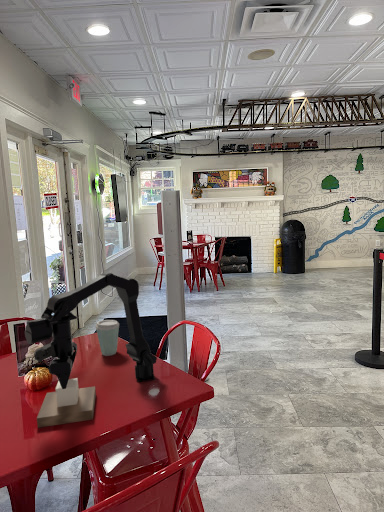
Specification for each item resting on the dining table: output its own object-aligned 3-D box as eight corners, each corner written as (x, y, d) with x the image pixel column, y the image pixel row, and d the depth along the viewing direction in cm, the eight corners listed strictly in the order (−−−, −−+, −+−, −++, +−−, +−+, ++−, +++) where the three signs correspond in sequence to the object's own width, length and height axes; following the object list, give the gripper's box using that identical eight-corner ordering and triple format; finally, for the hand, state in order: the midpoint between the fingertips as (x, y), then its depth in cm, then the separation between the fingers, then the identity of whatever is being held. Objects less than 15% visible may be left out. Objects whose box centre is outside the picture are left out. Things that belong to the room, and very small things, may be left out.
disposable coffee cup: (113, 347, 171) (111, 316, 169) (125, 352, 163) (123, 321, 161) (93, 353, 164) (90, 322, 162) (105, 360, 156) (102, 326, 154)
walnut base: (95, 394, 126) (95, 386, 125) (92, 419, 110) (92, 410, 110) (47, 401, 123) (46, 392, 122) (37, 427, 107) (36, 418, 107)
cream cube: (79, 395, 120) (77, 378, 119) (77, 404, 114) (75, 386, 113) (60, 397, 118) (58, 380, 118) (57, 407, 113) (55, 389, 112)
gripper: (41, 329, 121) (45, 373, 123) (27, 348, 103) (32, 400, 105) (75, 325, 123) (79, 369, 125) (68, 344, 105) (72, 394, 107)
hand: (66, 382), depth 115 cm, fingers open, 9 cm apart
